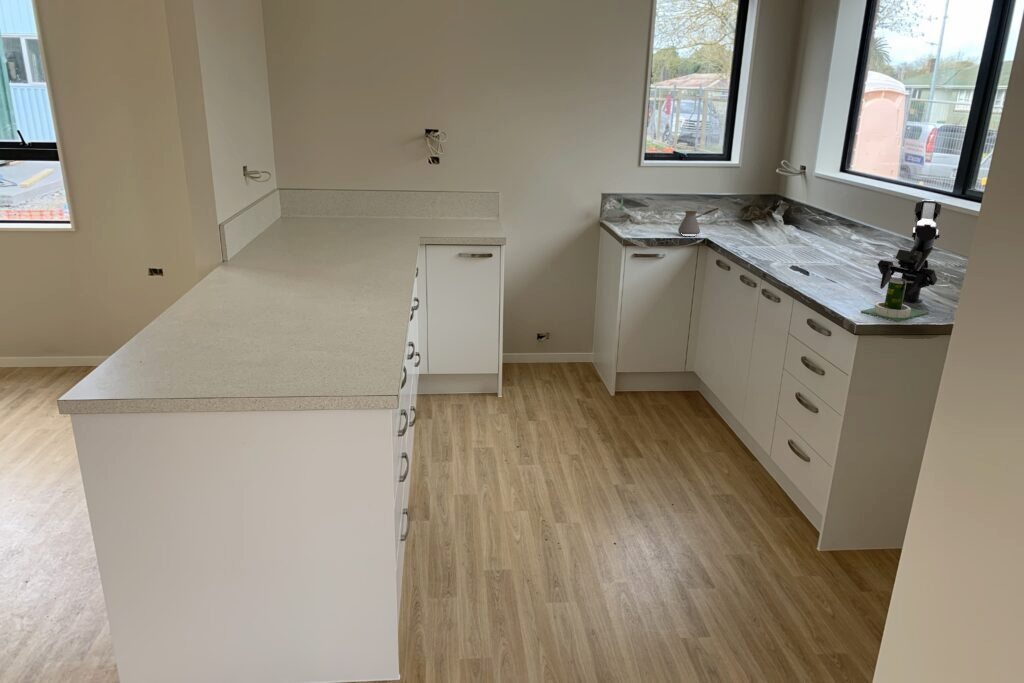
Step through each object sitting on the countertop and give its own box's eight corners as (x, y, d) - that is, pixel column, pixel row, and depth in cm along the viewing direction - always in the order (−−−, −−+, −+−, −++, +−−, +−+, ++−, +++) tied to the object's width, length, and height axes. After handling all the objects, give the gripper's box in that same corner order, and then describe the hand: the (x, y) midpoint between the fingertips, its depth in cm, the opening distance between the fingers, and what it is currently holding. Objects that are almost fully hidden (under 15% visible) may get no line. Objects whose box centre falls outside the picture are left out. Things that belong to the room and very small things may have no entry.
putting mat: (892, 304, 264) (892, 303, 263) (928, 313, 253) (928, 312, 253) (860, 312, 253) (861, 310, 253) (897, 321, 243) (897, 320, 242)
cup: (884, 307, 258) (886, 300, 257) (915, 314, 250) (917, 307, 249) (867, 311, 252) (868, 304, 251) (898, 319, 244) (899, 312, 243)
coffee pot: (682, 237, 381) (685, 209, 376) (674, 233, 392) (677, 205, 387) (720, 237, 384) (724, 209, 380) (711, 233, 395) (715, 206, 390)
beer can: (893, 310, 254) (900, 277, 250) (903, 315, 249) (910, 281, 245) (879, 310, 253) (886, 277, 249) (888, 315, 248) (895, 281, 244)
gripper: (885, 236, 252) (861, 270, 250) (940, 246, 238) (915, 282, 235) (893, 256, 259) (870, 290, 257) (947, 267, 245) (923, 302, 242)
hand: (893, 291), depth 248 cm, fingers open, 9 cm apart
